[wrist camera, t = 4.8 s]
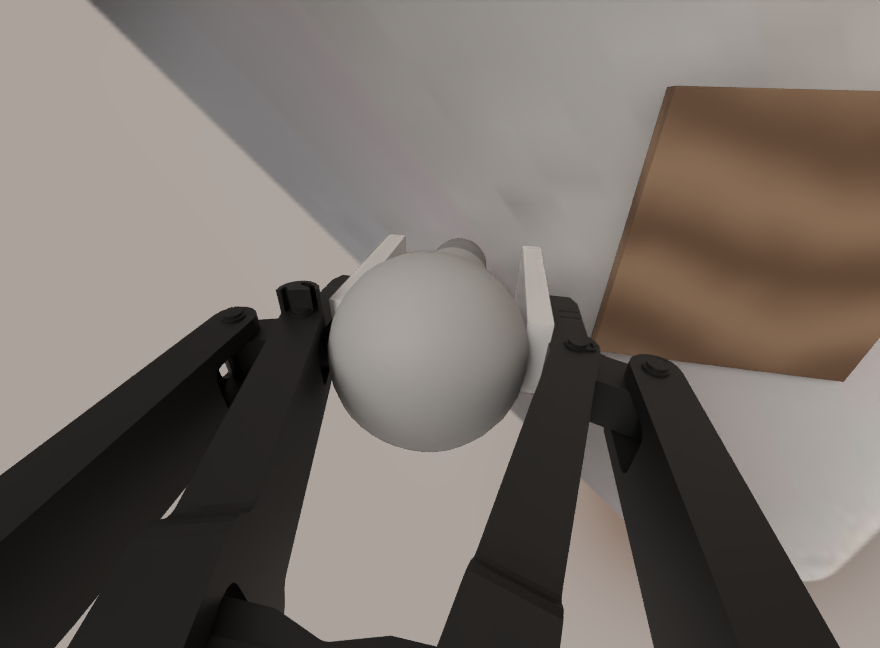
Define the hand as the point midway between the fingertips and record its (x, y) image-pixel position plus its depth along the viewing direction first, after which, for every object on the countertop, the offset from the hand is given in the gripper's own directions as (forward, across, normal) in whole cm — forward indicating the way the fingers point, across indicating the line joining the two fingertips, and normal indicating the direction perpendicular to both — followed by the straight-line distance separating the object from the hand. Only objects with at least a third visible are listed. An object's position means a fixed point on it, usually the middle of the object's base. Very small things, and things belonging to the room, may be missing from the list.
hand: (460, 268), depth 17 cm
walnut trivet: (+8, +17, 0) cm, 19 cm away
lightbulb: (+2, 0, 0) cm, 2 cm away
